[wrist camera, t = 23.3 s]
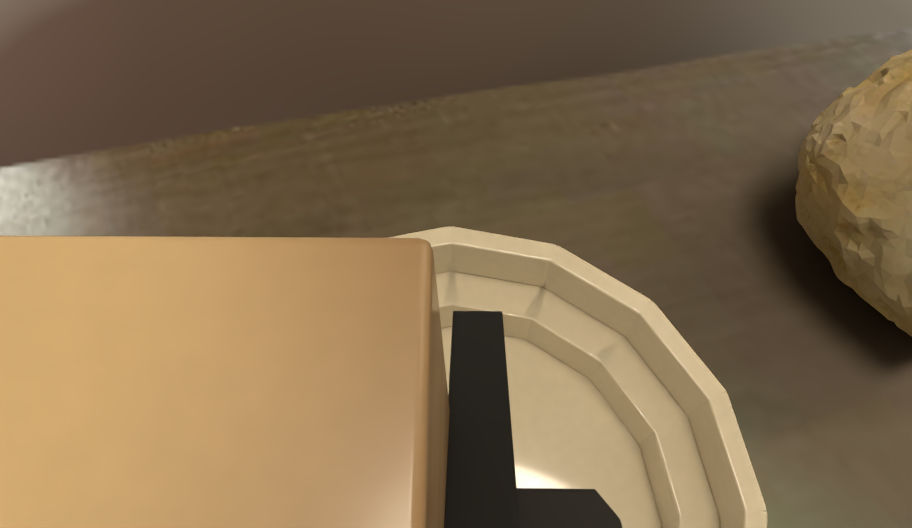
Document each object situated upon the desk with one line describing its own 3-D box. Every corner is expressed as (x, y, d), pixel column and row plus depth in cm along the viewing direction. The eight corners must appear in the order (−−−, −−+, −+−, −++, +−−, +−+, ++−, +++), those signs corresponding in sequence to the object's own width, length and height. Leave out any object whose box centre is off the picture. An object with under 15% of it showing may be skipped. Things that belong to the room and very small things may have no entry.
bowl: (123, 757, 23) (35, 800, 18) (280, 253, 29) (245, 189, 24) (686, 895, 21) (748, 980, 16) (725, 334, 27) (778, 282, 23)
